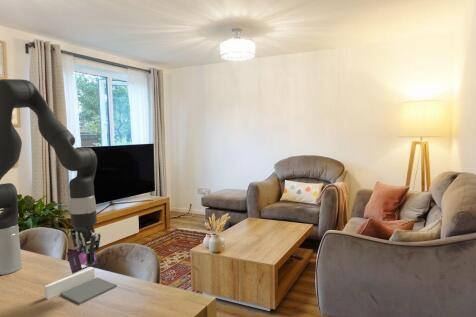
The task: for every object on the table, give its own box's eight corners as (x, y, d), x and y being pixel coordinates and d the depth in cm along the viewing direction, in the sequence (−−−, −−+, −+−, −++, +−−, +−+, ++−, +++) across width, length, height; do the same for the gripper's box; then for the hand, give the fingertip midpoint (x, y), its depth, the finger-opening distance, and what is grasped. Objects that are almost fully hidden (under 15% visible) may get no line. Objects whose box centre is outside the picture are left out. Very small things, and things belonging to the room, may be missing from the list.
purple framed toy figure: (68, 251, 99) (93, 242, 107) (58, 254, 102) (84, 245, 110) (74, 273, 99) (99, 262, 107) (64, 275, 101) (89, 264, 109)
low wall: (45, 298, 103) (44, 285, 103) (92, 278, 116) (91, 267, 116) (47, 299, 102) (46, 287, 102) (94, 279, 115) (94, 268, 115)
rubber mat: (60, 295, 105) (60, 293, 105) (97, 279, 115) (97, 277, 115) (79, 304, 98) (79, 302, 98) (116, 286, 109) (116, 285, 109)
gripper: (59, 210, 105) (63, 261, 107) (84, 215, 97) (88, 271, 99) (81, 205, 112) (85, 254, 113) (107, 210, 104) (110, 262, 105)
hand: (86, 261), depth 106 cm, fingers closed on purple framed toy figure, 4 cm apart
